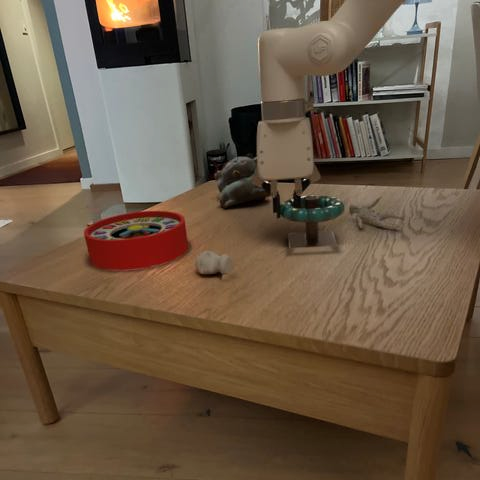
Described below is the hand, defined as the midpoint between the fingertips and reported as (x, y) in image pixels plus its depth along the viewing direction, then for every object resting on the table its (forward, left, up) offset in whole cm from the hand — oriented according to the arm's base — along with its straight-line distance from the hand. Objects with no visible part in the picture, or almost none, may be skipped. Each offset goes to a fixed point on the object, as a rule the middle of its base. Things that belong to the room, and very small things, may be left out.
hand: (287, 214), depth 91 cm
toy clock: (+30, -1, -6) cm, 31 cm away
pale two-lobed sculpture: (+13, +13, -6) cm, 20 cm away
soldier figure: (-19, -10, -6) cm, 22 cm away
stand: (-5, 0, -6) cm, 8 cm away
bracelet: (-5, 0, +1) cm, 5 cm away
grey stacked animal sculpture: (+11, -36, -6) cm, 38 cm away
